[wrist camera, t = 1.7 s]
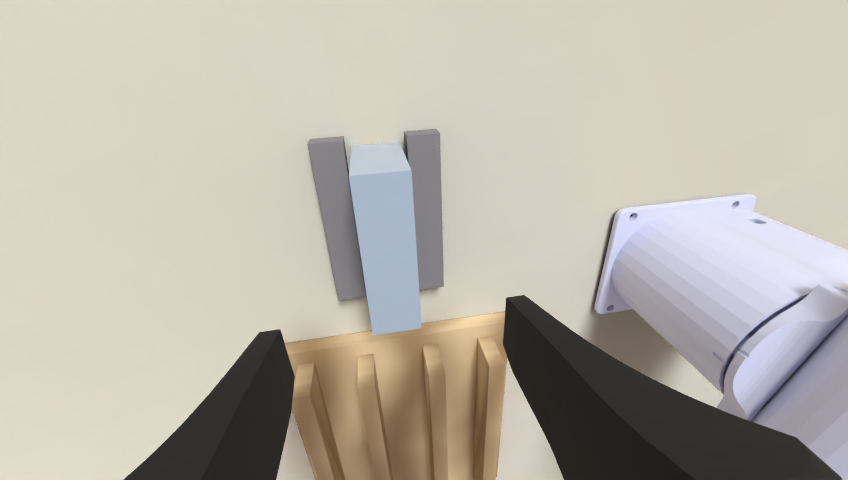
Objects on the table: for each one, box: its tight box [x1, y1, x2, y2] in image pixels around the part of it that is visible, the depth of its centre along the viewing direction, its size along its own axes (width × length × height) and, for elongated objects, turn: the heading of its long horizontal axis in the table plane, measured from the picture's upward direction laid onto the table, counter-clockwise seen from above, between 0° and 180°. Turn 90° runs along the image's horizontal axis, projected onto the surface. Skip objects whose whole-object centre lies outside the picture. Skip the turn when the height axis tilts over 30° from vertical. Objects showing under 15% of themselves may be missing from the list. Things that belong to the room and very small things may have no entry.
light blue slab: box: [349, 142, 422, 335], centre depth 18 cm, size 2×8×5 cm, turn 3°
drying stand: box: [308, 129, 444, 301], centre depth 19 cm, size 6×9×1 cm
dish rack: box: [285, 312, 507, 480], centre depth 26 cm, size 15×18×4 cm
